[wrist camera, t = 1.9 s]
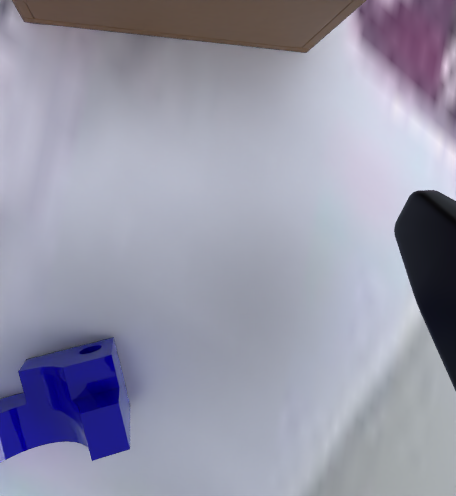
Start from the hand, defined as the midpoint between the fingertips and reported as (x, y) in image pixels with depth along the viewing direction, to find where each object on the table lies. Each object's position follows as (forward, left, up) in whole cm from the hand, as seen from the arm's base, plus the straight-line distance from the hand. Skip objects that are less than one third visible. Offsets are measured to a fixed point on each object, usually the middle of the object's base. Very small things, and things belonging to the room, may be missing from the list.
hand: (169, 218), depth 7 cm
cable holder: (-4, +9, -14) cm, 17 cm away
